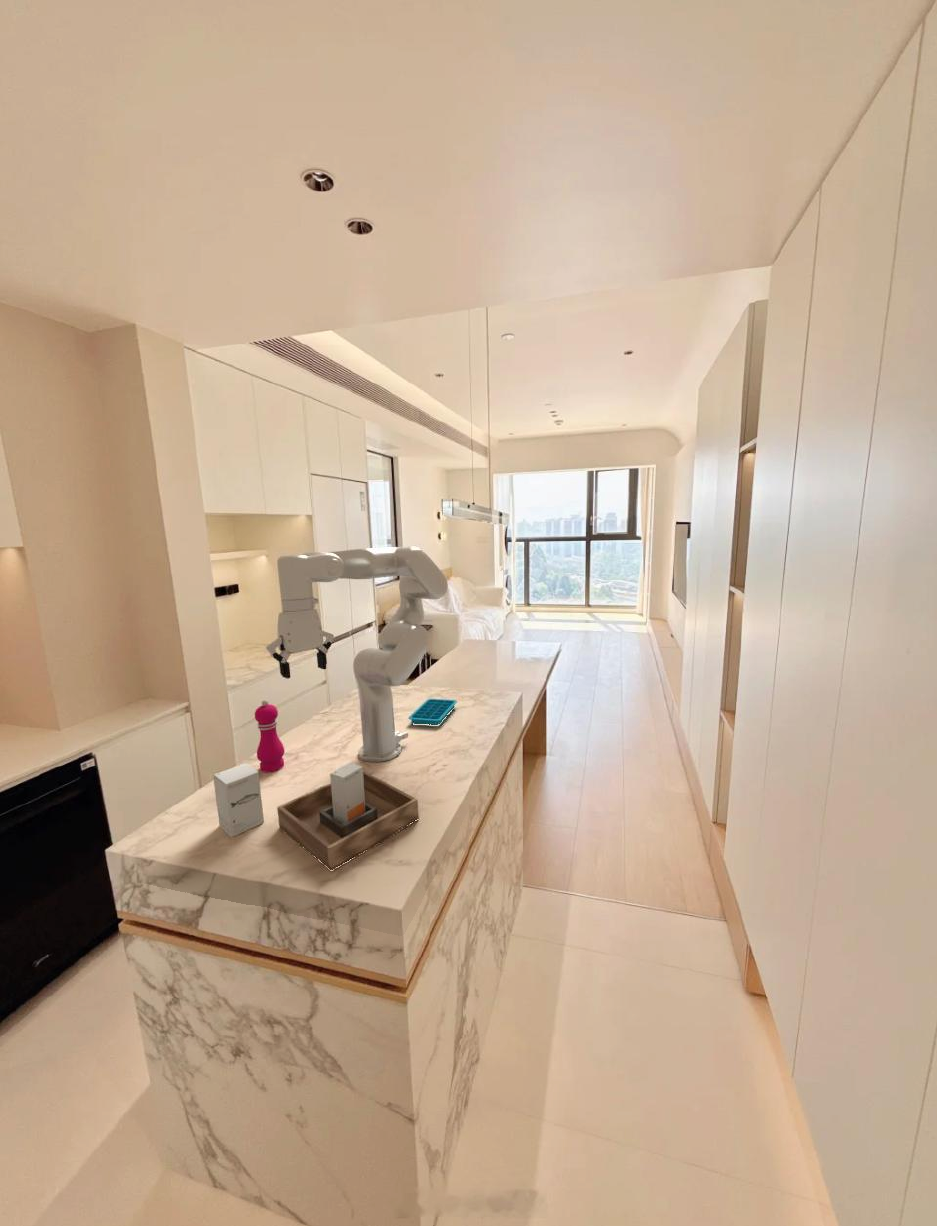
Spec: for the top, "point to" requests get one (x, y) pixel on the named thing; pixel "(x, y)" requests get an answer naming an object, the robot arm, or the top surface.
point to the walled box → (342, 842)
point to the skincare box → (348, 792)
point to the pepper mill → (269, 738)
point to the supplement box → (238, 799)
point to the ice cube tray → (432, 711)
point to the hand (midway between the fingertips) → (304, 672)
